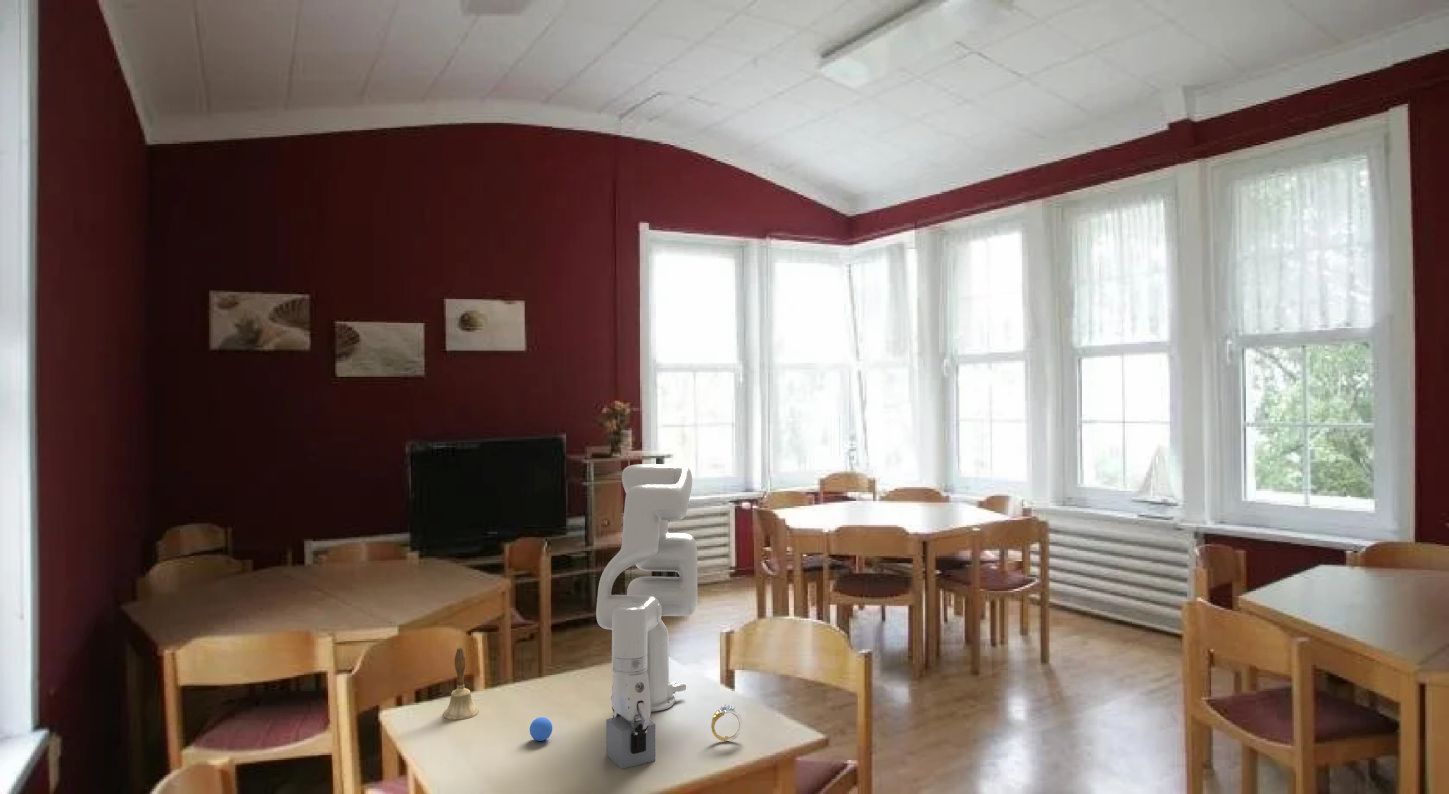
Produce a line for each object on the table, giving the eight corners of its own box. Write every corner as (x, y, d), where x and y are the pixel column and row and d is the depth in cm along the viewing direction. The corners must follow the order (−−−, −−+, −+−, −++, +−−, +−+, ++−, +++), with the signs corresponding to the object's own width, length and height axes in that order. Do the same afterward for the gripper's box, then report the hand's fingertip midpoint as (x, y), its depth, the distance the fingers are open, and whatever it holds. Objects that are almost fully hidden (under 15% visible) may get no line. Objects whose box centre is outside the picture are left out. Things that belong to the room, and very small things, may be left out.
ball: (547, 734, 195) (547, 712, 195) (555, 741, 191) (555, 719, 191) (526, 738, 193) (526, 716, 193) (534, 746, 188) (534, 723, 188)
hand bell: (468, 721, 203) (468, 654, 203) (436, 718, 205) (436, 652, 204) (484, 708, 211) (484, 644, 211) (453, 706, 213) (453, 642, 213)
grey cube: (639, 747, 188) (639, 712, 188) (655, 760, 181) (655, 723, 181) (606, 755, 184) (606, 719, 184) (621, 769, 177) (621, 731, 177)
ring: (742, 738, 193) (742, 703, 193) (742, 744, 190) (742, 708, 190) (711, 739, 193) (711, 703, 193) (711, 744, 190) (711, 708, 190)
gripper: (664, 670, 177) (664, 755, 177) (628, 650, 192) (627, 728, 192) (631, 676, 173) (631, 763, 173) (596, 655, 188) (596, 735, 188)
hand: (629, 744), depth 183 cm, fingers closed on grey cube, 8 cm apart
